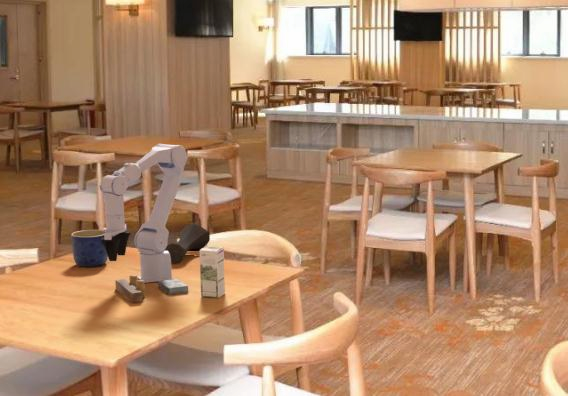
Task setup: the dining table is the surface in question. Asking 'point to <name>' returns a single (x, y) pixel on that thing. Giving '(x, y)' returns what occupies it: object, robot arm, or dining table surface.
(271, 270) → the dining table surface
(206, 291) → the syrup box
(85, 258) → the planter
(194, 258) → the dining table surface
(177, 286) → the steel plate
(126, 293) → the bench dog strip
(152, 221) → the robot arm
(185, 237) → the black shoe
